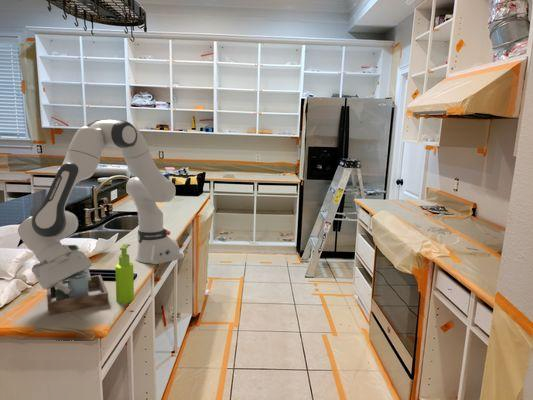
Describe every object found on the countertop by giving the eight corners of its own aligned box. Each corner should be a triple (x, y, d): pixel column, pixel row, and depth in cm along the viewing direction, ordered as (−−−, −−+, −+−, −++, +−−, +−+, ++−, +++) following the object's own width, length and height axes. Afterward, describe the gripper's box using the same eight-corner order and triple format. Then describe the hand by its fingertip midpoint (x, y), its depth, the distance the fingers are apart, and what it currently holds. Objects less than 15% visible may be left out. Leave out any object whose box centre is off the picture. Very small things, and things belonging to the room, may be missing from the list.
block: (68, 293, 132) (67, 283, 131) (68, 297, 129) (68, 287, 128) (55, 295, 130) (55, 285, 129) (56, 299, 127) (55, 289, 126)
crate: (101, 284, 141) (100, 274, 140) (108, 303, 126) (107, 292, 125) (47, 293, 131) (46, 282, 130) (48, 315, 116) (47, 303, 115)
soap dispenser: (137, 295, 133) (136, 243, 130) (130, 303, 126) (129, 249, 123) (121, 294, 133) (119, 242, 129) (113, 303, 126) (112, 248, 123)
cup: (87, 295, 131) (86, 272, 129) (89, 302, 126) (88, 277, 124) (69, 298, 128) (67, 274, 126) (70, 305, 123) (68, 280, 121)
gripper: (34, 261, 115) (61, 294, 115) (80, 243, 135) (103, 271, 135) (23, 272, 117) (50, 305, 117) (70, 253, 137) (94, 281, 136)
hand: (79, 286), depth 126 cm, fingers open, 8 cm apart
